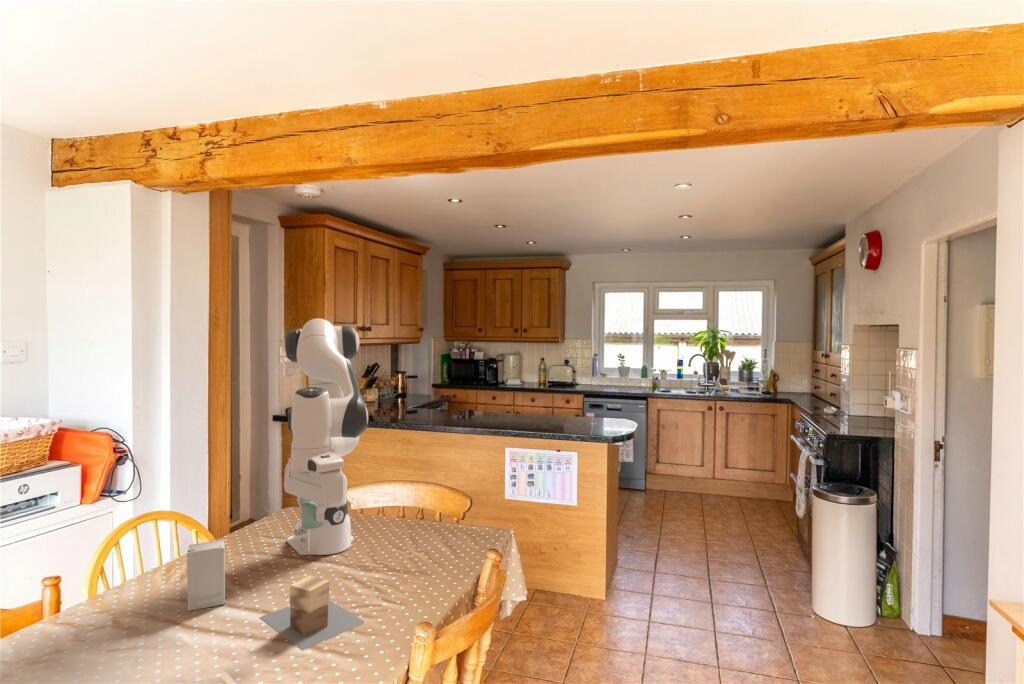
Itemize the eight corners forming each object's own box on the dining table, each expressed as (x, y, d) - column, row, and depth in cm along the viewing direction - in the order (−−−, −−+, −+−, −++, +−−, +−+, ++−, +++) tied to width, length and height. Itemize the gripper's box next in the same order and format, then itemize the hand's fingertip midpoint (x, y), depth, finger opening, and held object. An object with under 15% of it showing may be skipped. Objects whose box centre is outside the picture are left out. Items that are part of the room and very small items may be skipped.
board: (258, 621, 131) (259, 617, 131) (320, 598, 143) (320, 594, 143) (302, 654, 118) (302, 650, 118) (366, 626, 130) (366, 622, 130)
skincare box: (225, 595, 143) (226, 538, 143) (224, 606, 138) (225, 546, 137) (187, 601, 139) (189, 542, 139) (185, 612, 134) (186, 551, 134)
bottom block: (290, 626, 127) (290, 604, 127) (314, 616, 132) (314, 595, 132) (303, 636, 123) (304, 613, 123) (327, 625, 128) (328, 604, 128)
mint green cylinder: (297, 526, 128) (297, 504, 127) (316, 520, 131) (316, 499, 131) (308, 530, 124) (308, 508, 124) (327, 524, 128) (327, 503, 128)
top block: (289, 607, 126) (290, 585, 126) (309, 596, 131) (310, 575, 131) (309, 613, 123) (309, 591, 123) (328, 602, 129) (329, 580, 129)
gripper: (276, 454, 132) (277, 512, 132) (322, 466, 119) (322, 531, 119) (301, 450, 137) (301, 506, 137) (348, 461, 124) (348, 523, 124)
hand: (312, 518), depth 128 cm, fingers closed on mint green cylinder, 5 cm apart
